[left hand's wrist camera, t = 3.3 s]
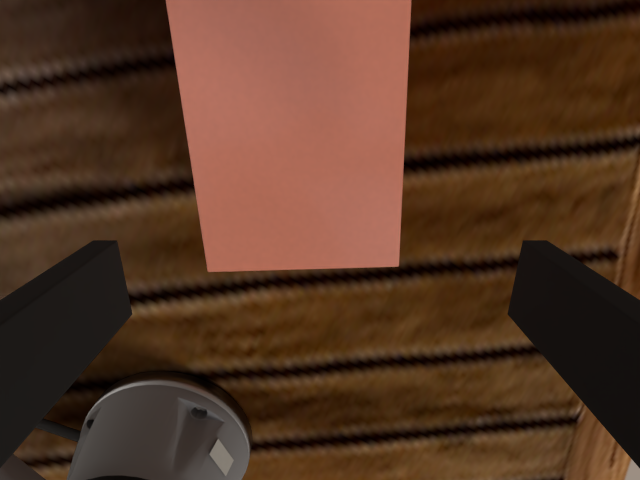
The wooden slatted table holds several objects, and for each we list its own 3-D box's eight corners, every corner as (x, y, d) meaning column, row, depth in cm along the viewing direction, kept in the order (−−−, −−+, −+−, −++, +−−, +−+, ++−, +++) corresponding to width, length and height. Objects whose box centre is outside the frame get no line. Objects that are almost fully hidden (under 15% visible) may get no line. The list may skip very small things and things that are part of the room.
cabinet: (203, -131, 21) (119, -290, 12) (382, -139, 21) (426, -305, 12) (242, 218, 29) (207, 272, 20) (375, 214, 28) (399, 266, 20)
